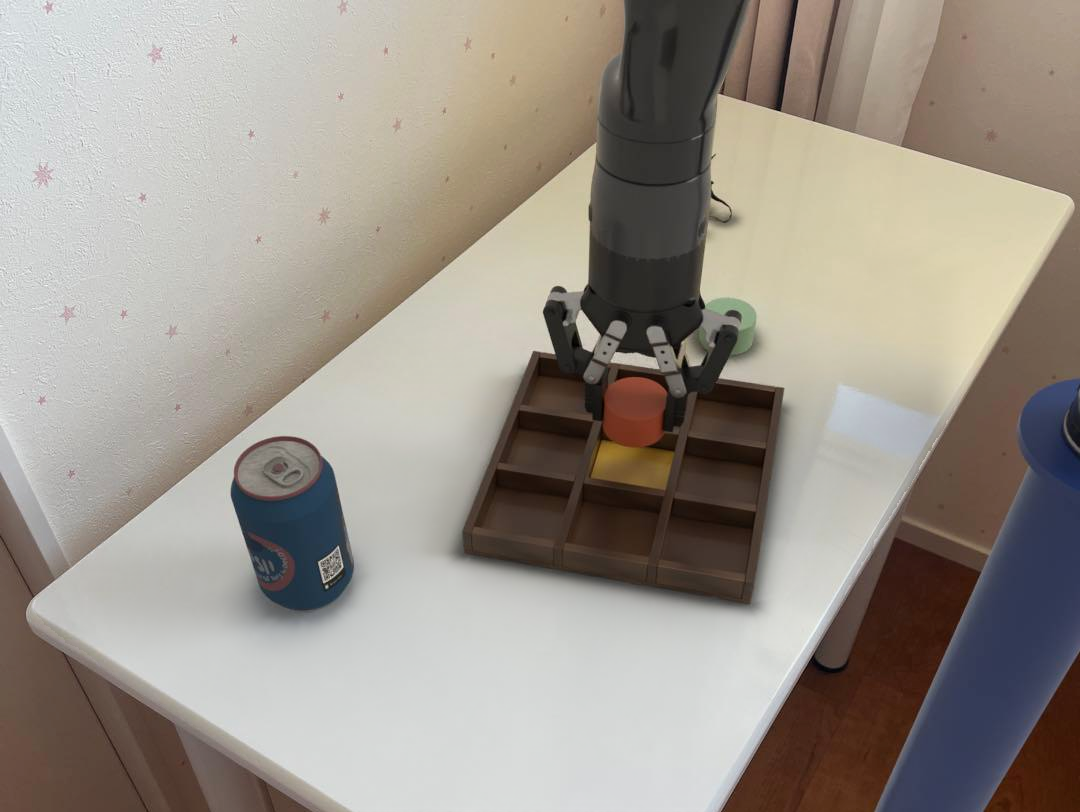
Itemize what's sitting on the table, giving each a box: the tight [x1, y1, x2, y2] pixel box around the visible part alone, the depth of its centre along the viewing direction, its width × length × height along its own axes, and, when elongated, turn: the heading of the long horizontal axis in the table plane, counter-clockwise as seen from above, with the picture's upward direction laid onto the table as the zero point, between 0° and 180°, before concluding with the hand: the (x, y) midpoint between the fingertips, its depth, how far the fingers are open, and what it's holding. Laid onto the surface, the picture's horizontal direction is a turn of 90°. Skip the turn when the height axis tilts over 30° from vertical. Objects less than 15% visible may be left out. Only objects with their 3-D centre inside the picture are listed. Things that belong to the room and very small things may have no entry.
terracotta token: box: [603, 377, 667, 447], centre depth 83 cm, size 5×5×3 cm
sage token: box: [698, 297, 758, 357], centre depth 98 cm, size 5×5×3 cm
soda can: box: [229, 435, 355, 612], centre depth 77 cm, size 7×7×12 cm
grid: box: [461, 350, 785, 605], centre depth 87 cm, size 21×21×2 cm
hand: (634, 418), depth 83 cm, fingers closed on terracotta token, 4 cm apart
